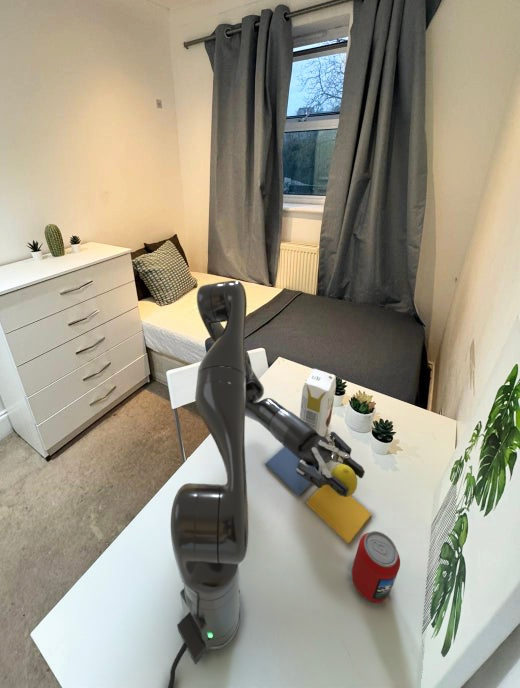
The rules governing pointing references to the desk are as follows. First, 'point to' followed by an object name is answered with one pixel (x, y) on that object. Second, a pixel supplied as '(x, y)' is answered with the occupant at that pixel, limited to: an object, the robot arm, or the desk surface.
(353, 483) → the lemon
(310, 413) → the juice carton
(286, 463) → the slate mat
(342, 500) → the mustard mat
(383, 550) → the beverage can
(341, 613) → the desk surface
